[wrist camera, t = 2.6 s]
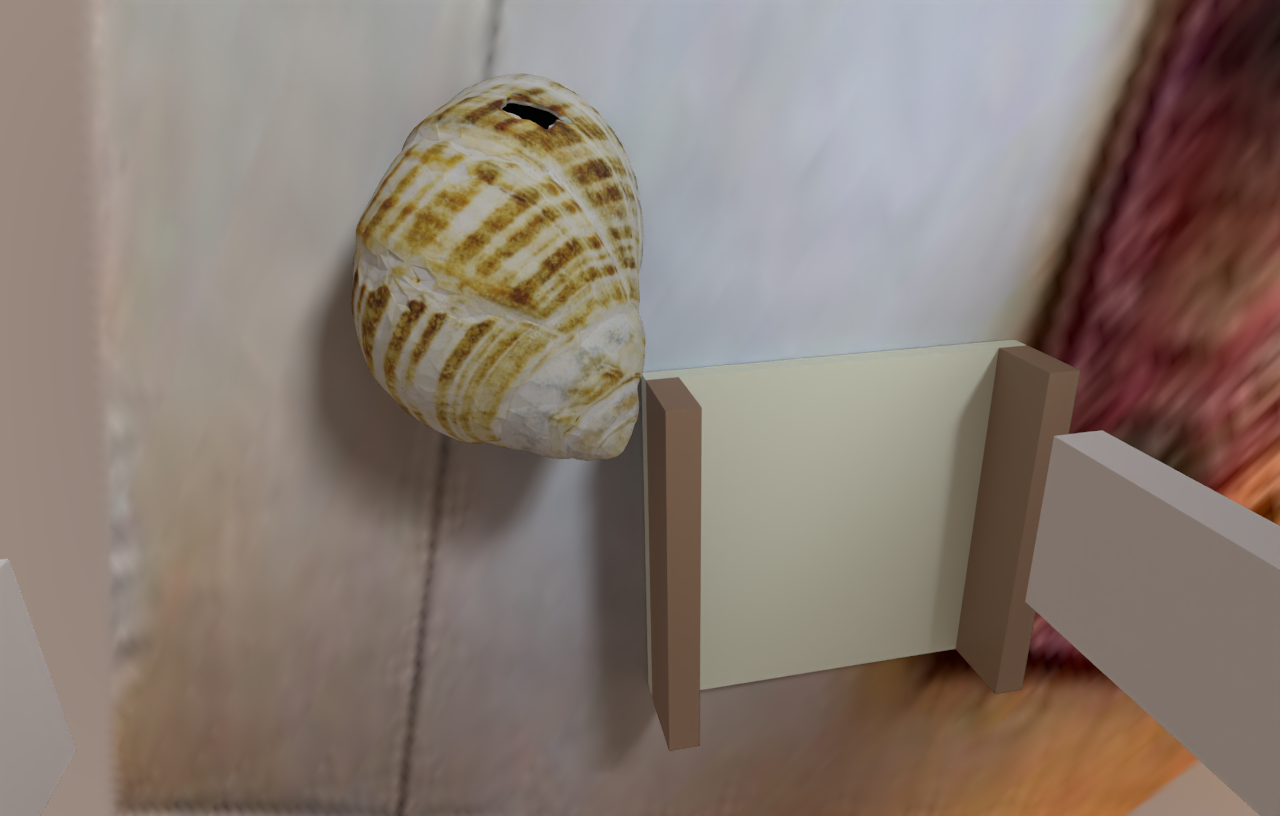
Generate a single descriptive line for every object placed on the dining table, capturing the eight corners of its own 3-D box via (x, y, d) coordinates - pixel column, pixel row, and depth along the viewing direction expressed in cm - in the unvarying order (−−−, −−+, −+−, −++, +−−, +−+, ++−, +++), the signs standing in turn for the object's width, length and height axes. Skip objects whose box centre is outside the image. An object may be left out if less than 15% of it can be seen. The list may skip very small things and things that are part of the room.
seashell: (523, -17, 24) (696, 132, 18) (640, 214, 32) (789, 375, 26) (235, 184, 24) (310, 403, 18) (421, 368, 32) (519, 567, 26)
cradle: (641, 373, 30) (665, 411, 27) (1014, 339, 33) (1080, 370, 29) (648, 685, 35) (669, 750, 32) (969, 633, 38) (1021, 689, 35)
